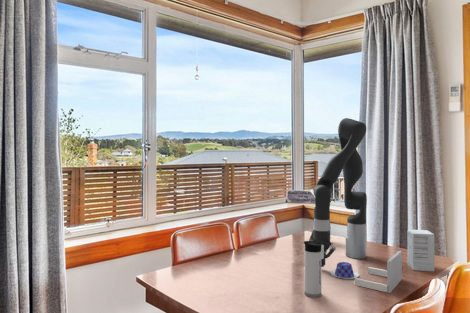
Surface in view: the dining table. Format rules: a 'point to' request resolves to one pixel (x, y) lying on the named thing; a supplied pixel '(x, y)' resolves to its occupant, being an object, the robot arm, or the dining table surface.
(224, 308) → the dining table surface
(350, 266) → the blue checkered hat
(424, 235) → the supplement box
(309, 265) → the travel mug
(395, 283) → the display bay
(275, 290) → the dining table surface
